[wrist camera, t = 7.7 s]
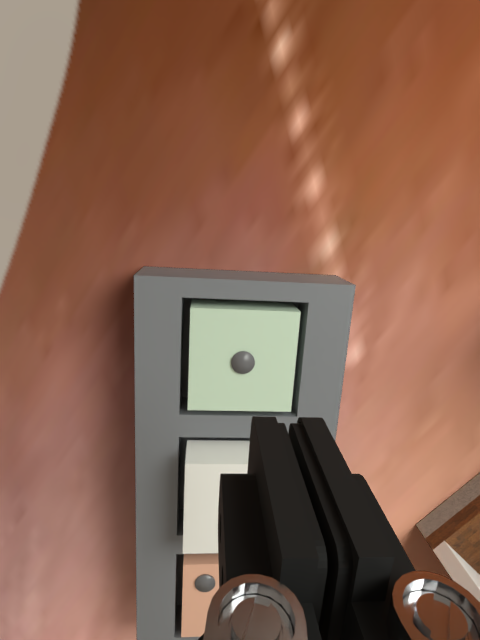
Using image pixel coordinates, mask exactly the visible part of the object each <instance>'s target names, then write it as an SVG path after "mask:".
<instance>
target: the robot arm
mask: <svg viewBox="0 0 480 640" xmlns="http://www.w3.org/2000/svg"><path fill="white" fill-rule="evenodd" d="M218 559H219V589H218V590H217V592H216V593H215V595H214V596H213V597H212V600H211V603H210V606H209V609H208V612H207V619H206V625H205V632H204V634H203V635H202V636H201V637H200V638H199V639H198V640H480V602H479V601H478V600H477V599H476V598H475V597H474V596H473V595H472V594H471V593H470V592H469V591H468V590H466V589H465V588H464V587H462V586H461V585H459V584H458V583H456V582H455V581H453V580H451V579H449V578H446V577H444V576H442V575H440V574H436V573H432V572H428V571H415V569H414V567H413V565H412V563H411V562H410V560H409V558H408V556H407V554H406V553H405V551H404V549H403V547H402V545H401V543H400V542H399V540H398V538H397V536H396V534H395V533H394V531H393V529H392V527H391V525H390V524H389V522H388V520H387V518H386V516H385V514H384V513H383V511H382V509H381V507H380V505H379V504H378V502H377V500H376V498H375V496H374V495H373V493H372V491H371V489H370V487H369V485H368V484H367V482H366V480H365V479H364V477H363V476H362V475H360V474H352V473H351V472H350V470H349V468H348V466H347V464H346V462H345V460H344V458H343V456H342V454H341V452H340V450H339V448H338V446H337V444H336V442H335V440H334V438H333V437H332V435H331V433H330V431H329V429H328V427H327V425H326V423H325V421H324V419H323V418H321V417H299V418H298V420H297V423H291V424H290V426H289V432H287V429H286V426H285V423H278V422H277V419H276V417H258V416H253V417H252V420H251V431H250V444H249V457H248V470H247V474H221V475H220V486H219V505H218Z"/></svg>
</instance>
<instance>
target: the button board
mask: <svg viewBox="0 0 480 640" xmlns="http://www.w3.org/2000/svg"><path fill="white" fill-rule="evenodd" d="M355 286H356V285H354V284H352V283H350V282H348V281H346V280H344V279H342V278H340V277H338V276H336V275H317V274H296V273H274V272H253V271H232V270H210V269H189V268H168V267H146V266H144V267H143V268H142V269H140V270H139V271H138V272H137V273H136V274H135V275H134V357H135V481H136V604H137V640H198V639H199V638H200V637H181V627H182V590H183V560H184V554H183V521H184V484H185V459H186V447H187V440H229V441H250V431H251V420H252V417H253V416H258V417H276V419H277V422H278V423H285V426H286V429H287V432H289V426H290V424H291V423H297V420H298V418H299V417H321V418H323V419H324V421H325V423H326V425H327V427H328V429H329V431H330V433H331V435H332V437H333V438H334V440H335V439H336V431H337V423H338V416H339V408H340V401H341V393H342V385H343V378H344V370H345V362H346V355H347V347H348V339H349V332H350V324H351V316H352V309H353V301H354V293H355ZM192 299H215V300H240V301H265V302H290V303H293V304H294V305H295V306H296V308H297V309H298V310H299V311H300V312H301V314H300V324H299V335H298V345H297V355H296V365H295V375H294V386H293V396H292V406H291V412H273V411H210V410H188V374H189V337H190V307H191V301H192ZM197 554H218V553H197Z"/></svg>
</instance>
